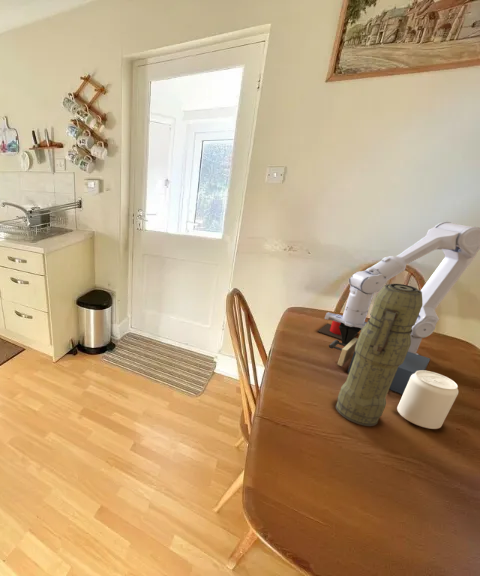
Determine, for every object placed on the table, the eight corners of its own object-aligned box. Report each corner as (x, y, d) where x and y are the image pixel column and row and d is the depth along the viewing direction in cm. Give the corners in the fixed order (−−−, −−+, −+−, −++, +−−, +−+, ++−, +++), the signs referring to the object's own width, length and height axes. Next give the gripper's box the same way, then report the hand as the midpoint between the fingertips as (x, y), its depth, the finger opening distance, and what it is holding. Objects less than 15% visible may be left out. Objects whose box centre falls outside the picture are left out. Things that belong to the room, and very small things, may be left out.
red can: (332, 327, 122) (336, 314, 120) (347, 332, 119) (351, 319, 117) (327, 331, 120) (331, 318, 118) (342, 336, 116) (347, 322, 114)
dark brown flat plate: (327, 324, 126) (327, 323, 126) (357, 334, 118) (358, 333, 118) (317, 331, 120) (317, 330, 120) (348, 342, 113) (348, 341, 113)
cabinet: (347, 372, 97) (354, 351, 94) (360, 358, 104) (367, 338, 101) (411, 398, 86) (421, 375, 83) (420, 380, 93) (430, 358, 90)
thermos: (380, 409, 82) (432, 285, 69) (375, 435, 74) (432, 300, 61) (339, 393, 87) (379, 276, 75) (330, 416, 80) (374, 289, 67)
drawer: (322, 358, 102) (326, 343, 100) (334, 347, 108) (339, 332, 106) (393, 386, 89) (400, 369, 87) (402, 371, 95) (409, 355, 93)
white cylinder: (450, 433, 74) (471, 392, 70) (410, 428, 76) (429, 388, 72) (424, 409, 82) (442, 371, 77) (388, 405, 83) (404, 367, 79)
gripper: (325, 304, 103) (315, 339, 108) (382, 320, 92) (368, 358, 97) (333, 299, 107) (323, 333, 112) (388, 313, 96) (374, 351, 101)
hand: (344, 345), depth 105 cm, fingers closed
